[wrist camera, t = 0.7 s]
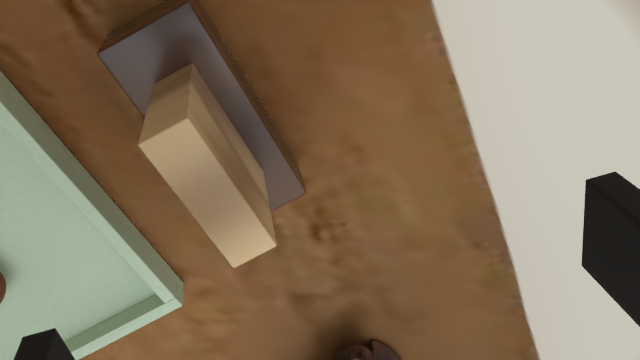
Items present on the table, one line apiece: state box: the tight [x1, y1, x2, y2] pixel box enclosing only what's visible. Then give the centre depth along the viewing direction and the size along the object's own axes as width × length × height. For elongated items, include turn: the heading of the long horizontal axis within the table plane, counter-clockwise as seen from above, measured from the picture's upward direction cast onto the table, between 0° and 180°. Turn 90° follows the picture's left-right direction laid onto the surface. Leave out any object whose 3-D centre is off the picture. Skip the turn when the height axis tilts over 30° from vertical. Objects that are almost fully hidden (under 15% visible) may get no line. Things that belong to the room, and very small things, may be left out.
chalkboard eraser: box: [97, 0, 306, 268], centre depth 27 cm, size 12×5×10 cm, turn 26°
